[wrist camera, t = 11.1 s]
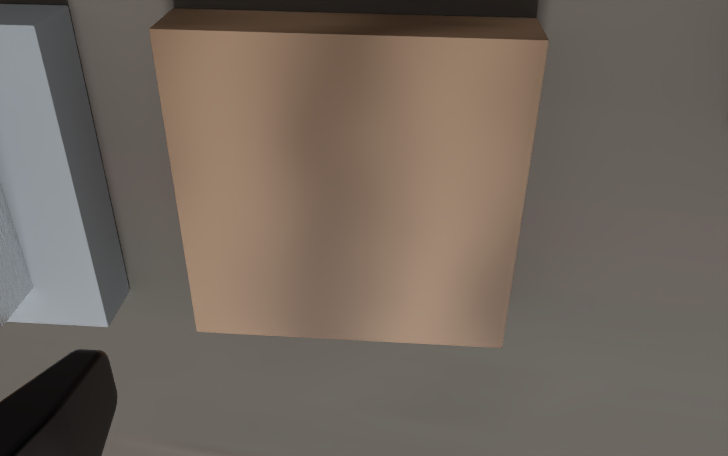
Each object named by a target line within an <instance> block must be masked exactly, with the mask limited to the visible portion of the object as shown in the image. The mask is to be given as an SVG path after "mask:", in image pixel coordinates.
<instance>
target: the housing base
mask: <svg viewBox="0 0 728 456" xmlns="http://www.w3.org/2000/svg"><path fill="white" fill-rule="evenodd" d="M32 289H33V284H32V281H31V278H30V275H29V271H28V268H27V265H26V262H25V258H24V255H23V252H22V249H21V245H20V242H19V239H18V236H17V232H16V229H15V226H14V223H13V219H12V216H11V213H10V210H9V207H8V203H7V200H6V197H5V194H4V190H3V187H2V184H1V181H0V329H1V328H2V327H3V325H4V324H5V323H6V322H7V320H8V319H9V318H10V317H11V315H12V314H13V313H14V312H15V310H16V309H17V308H18V306H19V305H20V304H21V303H22V301H23V300H24V299H25V298H26V296H27V295H28V294H29V293H30V291H31V290H32Z"/></svg>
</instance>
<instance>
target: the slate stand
mask: <svg viewBox="0 0 728 456" xmlns="http://www.w3.org/2000/svg"><path fill="white" fill-rule="evenodd" d="M0 181H1V184H2V187H3V190H4V194H5V197H6V200H7V203H8V207H9V210H10V213H11V216H12V219H13V223H14V226H15V229H16V232H17V236H18V239H19V242H20V245H21V249H22V252H23V255H24V258H25V262H26V265H27V268H28V271H29V275H30V278H31V281H32V284H33V289H32V290H31V291H30V293H29V294H28V295H27V296H26V298H25V299H24V300H23V301H22V303H21V304H20V305H19V306H18V308H17V309H16V310H15V312H14V313H13V314H12V315H11V317H10V318H9V319H8V320H7V322H24V323H43V324H62V325H81V326H99V327H109V325H110V323H111V321H112V320H113V318H114V316H115V315H116V313H117V311H118V310H119V308H120V306H121V304H122V303H123V301H124V299H125V298H126V296H127V294H128V293H129V291H130V289H129V285H128V280H127V276H126V271H125V266H124V262H123V257H122V252H121V248H120V243H119V239H118V234H117V229H116V225H115V220H114V216H113V211H112V206H111V202H110V197H109V193H108V188H107V183H106V179H105V174H104V169H103V165H102V160H101V156H100V151H99V146H98V142H97V137H96V133H95V128H94V123H93V119H92V114H91V109H90V105H89V100H88V96H87V91H86V86H85V82H84V77H83V73H82V68H81V63H80V59H79V54H78V49H77V45H76V40H75V36H74V31H73V26H72V22H71V17H70V13H69V8H68V6H66V5H29V4H0Z"/></svg>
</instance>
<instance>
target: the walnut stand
mask: <svg viewBox="0 0 728 456" xmlns="http://www.w3.org/2000/svg"><path fill="white" fill-rule="evenodd" d="M149 32H150V38H151V44H152V51H153V57H154V63H155V70H156V76H157V82H158V89H159V95H160V101H161V107H162V114H163V120H164V126H165V133H166V139H167V145H168V152H169V158H170V164H171V171H172V177H173V183H174V190H175V196H176V202H177V209H178V215H179V221H180V228H181V234H182V240H183V247H184V253H185V259H186V266H187V272H188V278H189V285H190V291H191V297H192V304H193V310H194V316H195V323H196V329H197V332H212V333H231V334H250V335H268V336H287V337H306V338H325V339H343V340H362V341H381V342H400V343H419V344H437V345H456V346H475V347H494V348H502V345H503V339H504V332H505V325H506V319H507V312H508V306H509V299H510V293H511V286H512V279H513V273H514V266H515V260H516V253H517V247H518V240H519V233H520V227H521V220H522V214H523V207H524V201H525V194H526V187H527V181H528V174H529V168H530V161H531V155H532V148H533V141H534V135H535V128H536V122H537V115H538V108H539V102H540V95H541V89H542V82H543V76H544V69H545V62H546V56H547V49H548V43H549V40H548V38H547V36H546V34H545V32H544V30H543V28H542V26H541V24H540V23H539V21H538V19H537V18H511V17H474V16H437V15H400V14H363V13H325V12H288V11H251V10H214V9H177V8H173V9H172V10H171V11H170V12H168V13H167V14H166V15H165V16H164V17H163V18H161V19H160V20H159V21H158V22H157V23H155V24H154V25H153V26H152V27H151V28H150V29H149Z"/></svg>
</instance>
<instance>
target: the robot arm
mask: <svg viewBox="0 0 728 456" xmlns="http://www.w3.org/2000/svg"><path fill="white" fill-rule="evenodd" d="M116 405H117V390H116V386H115V382H114V378H113V374H112V370H111V366H110V362H109V359H108V356H107V354H106V353H105V352H103V351H100V350H83V349H79V350H75V351H73V352H71V353H70V354H68V355H67V356H65V357H64V358H62V359H61V360H59V361H58V362H57V363H55V364H54V365H52V366H51V367H49V368H48V369H47V370H45V371H44V372H42V373H41V374H39V375H38V376H37V377H35V378H34V379H32V380H31V381H29V382H28V383H26V384H25V385H24V386H22V387H21V388H19V389H18V390H16V391H15V392H14V393H12V394H11V395H9V396H8V397H6V398H5V399H3V400H2V401H1V402H0V456H101V455H102V452H103V449H104V446H105V442H106V439H107V436H108V432H109V429H110V426H111V423H112V419H113V416H114V413H115V409H116Z"/></svg>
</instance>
